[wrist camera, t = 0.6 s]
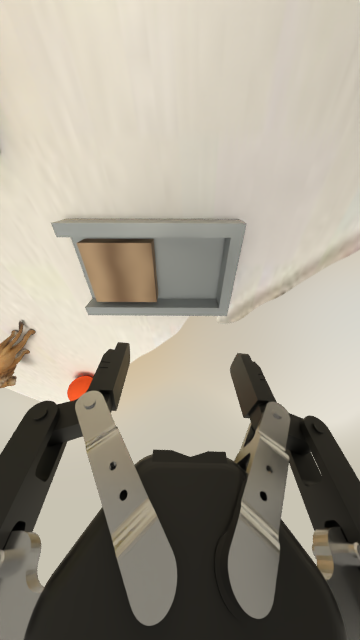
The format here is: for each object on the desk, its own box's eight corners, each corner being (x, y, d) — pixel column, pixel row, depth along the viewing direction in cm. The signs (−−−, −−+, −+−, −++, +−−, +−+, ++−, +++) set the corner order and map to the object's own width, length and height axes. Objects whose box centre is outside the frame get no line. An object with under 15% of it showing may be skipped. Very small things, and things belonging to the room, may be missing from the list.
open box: (238, 219, 24) (246, 223, 21) (222, 304, 32) (226, 315, 29) (66, 219, 24) (51, 222, 21) (96, 304, 32) (88, 315, 29)
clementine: (100, 388, 50) (89, 414, 45) (75, 383, 49) (61, 409, 43) (103, 374, 46) (92, 400, 40) (75, 368, 44) (60, 394, 39)
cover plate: (153, 238, 25) (151, 243, 23) (158, 294, 30) (156, 302, 28) (84, 238, 25) (76, 242, 23) (102, 294, 30) (96, 301, 28)
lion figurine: (35, 363, 43) (6, 397, 36) (11, 356, 42) (-24, 391, 35) (36, 324, 35) (0, 358, 28) (6, 314, 34) (-40, 347, 27)
